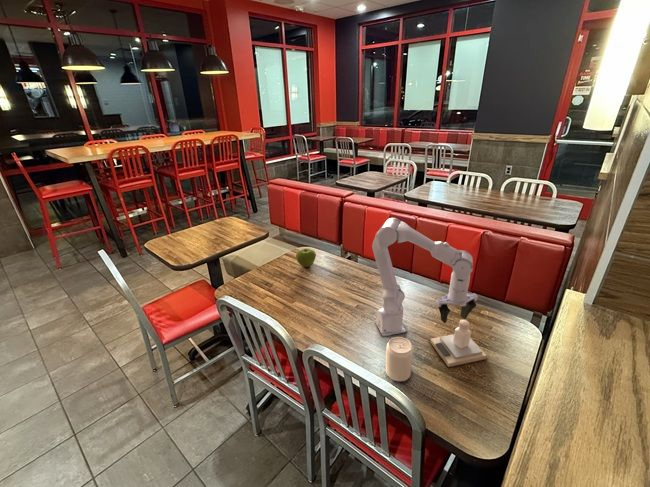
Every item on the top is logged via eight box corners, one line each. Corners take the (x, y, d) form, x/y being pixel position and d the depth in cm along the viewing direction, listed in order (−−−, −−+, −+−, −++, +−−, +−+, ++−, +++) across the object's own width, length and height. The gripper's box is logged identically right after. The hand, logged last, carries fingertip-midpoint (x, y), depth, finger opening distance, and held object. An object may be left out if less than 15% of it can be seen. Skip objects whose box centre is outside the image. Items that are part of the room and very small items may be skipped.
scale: (448, 367, 103) (449, 361, 102) (430, 342, 114) (430, 336, 112) (485, 359, 105) (487, 353, 104) (464, 335, 116) (465, 329, 115)
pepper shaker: (461, 349, 106) (465, 328, 102) (452, 342, 109) (455, 321, 105) (469, 345, 108) (473, 323, 104) (460, 338, 111) (463, 317, 107)
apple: (294, 270, 166) (293, 253, 162) (299, 260, 176) (297, 244, 171) (314, 270, 164) (313, 254, 160) (318, 261, 174) (317, 245, 170)
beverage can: (382, 364, 105) (383, 336, 100) (406, 361, 106) (408, 334, 101) (389, 384, 98) (390, 355, 93) (414, 381, 98) (417, 352, 93)
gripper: (445, 296, 99) (440, 330, 105) (486, 290, 101) (479, 323, 107) (434, 285, 105) (430, 317, 111) (472, 279, 107) (466, 310, 113)
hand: (453, 319), depth 109 cm, fingers open, 7 cm apart
